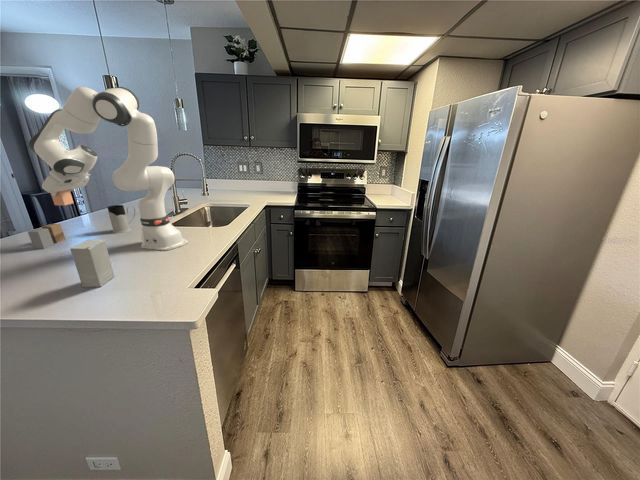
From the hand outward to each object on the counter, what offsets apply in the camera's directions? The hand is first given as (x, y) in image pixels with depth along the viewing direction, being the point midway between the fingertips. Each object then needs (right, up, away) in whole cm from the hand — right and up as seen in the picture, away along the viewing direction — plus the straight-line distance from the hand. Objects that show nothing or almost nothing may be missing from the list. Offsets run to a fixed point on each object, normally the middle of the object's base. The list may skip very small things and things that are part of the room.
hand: (59, 194), depth 128 cm
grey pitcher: (+12, -17, +29) cm, 35 cm away
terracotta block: (+1, -5, +2) cm, 5 cm away
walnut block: (-10, -24, +9) cm, 27 cm away
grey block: (-9, -27, +1) cm, 28 cm away
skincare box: (+47, -39, -31) cm, 69 cm away
